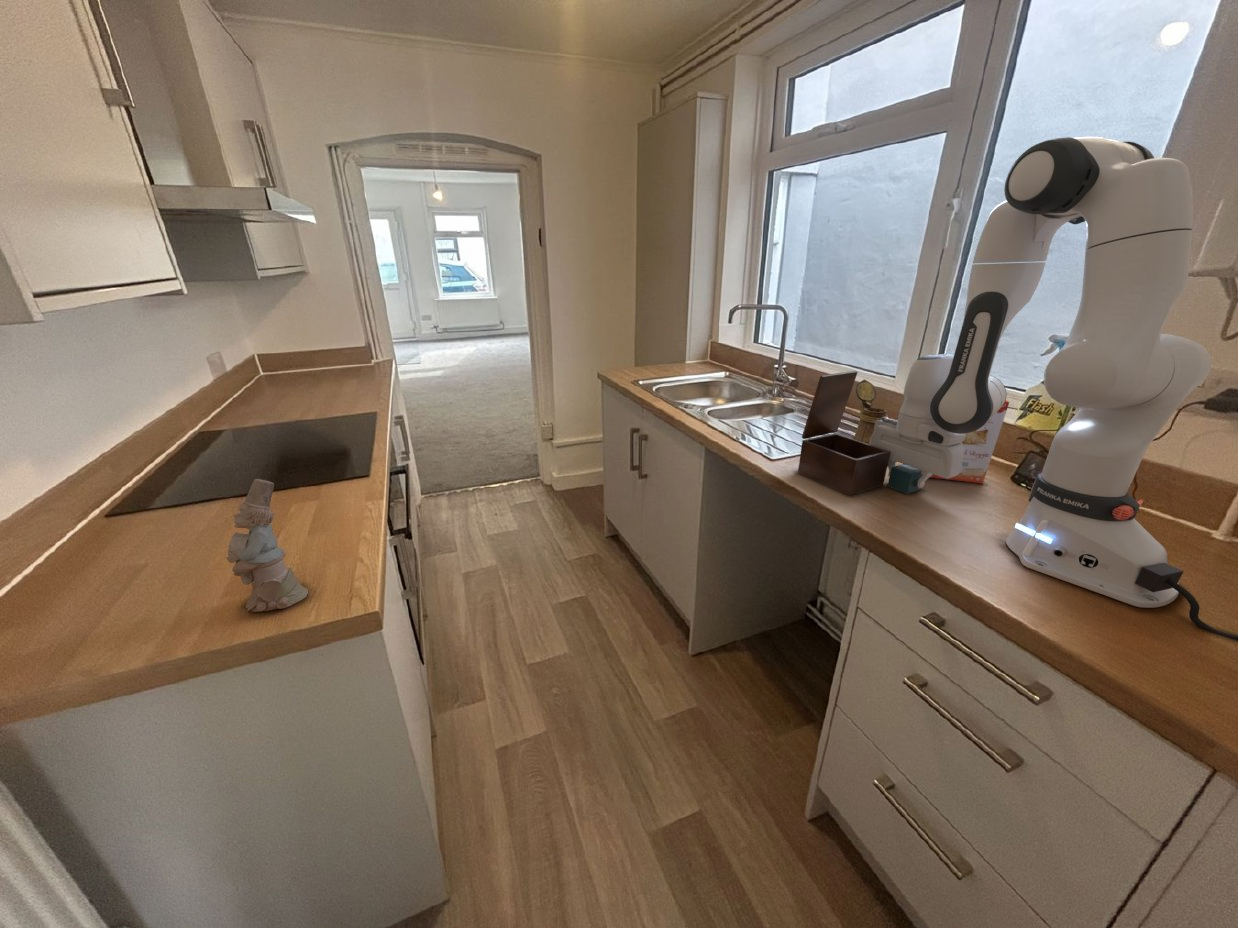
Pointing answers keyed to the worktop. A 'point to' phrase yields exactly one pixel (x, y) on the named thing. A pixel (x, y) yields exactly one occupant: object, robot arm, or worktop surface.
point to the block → (904, 478)
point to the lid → (829, 403)
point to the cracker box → (979, 449)
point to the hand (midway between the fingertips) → (905, 481)
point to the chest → (843, 463)
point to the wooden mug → (867, 412)
